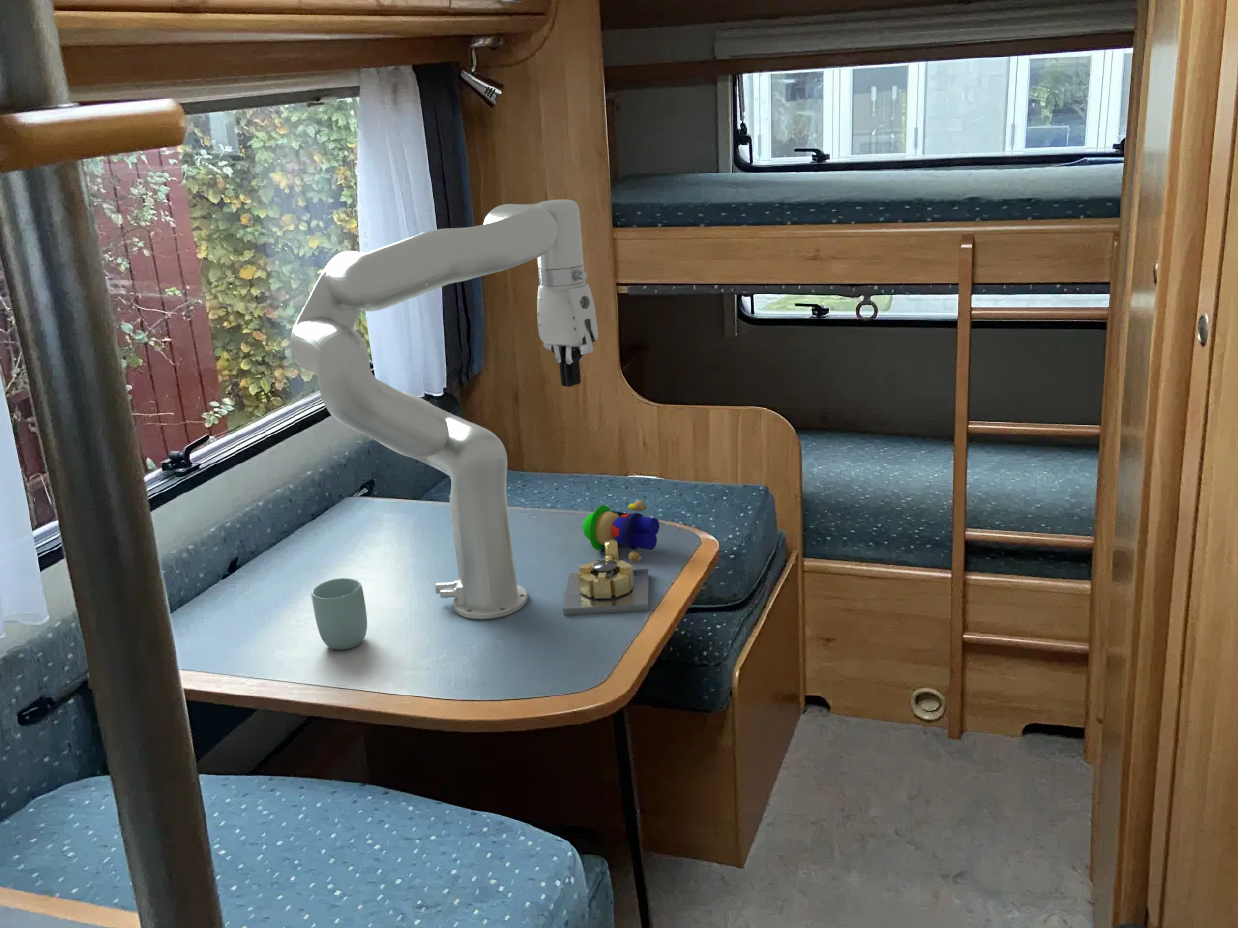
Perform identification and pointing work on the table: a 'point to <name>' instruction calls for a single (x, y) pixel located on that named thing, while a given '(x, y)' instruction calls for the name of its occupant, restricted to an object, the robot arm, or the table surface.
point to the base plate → (624, 603)
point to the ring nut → (601, 583)
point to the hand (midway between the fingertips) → (571, 384)
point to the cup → (340, 612)
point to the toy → (622, 529)
